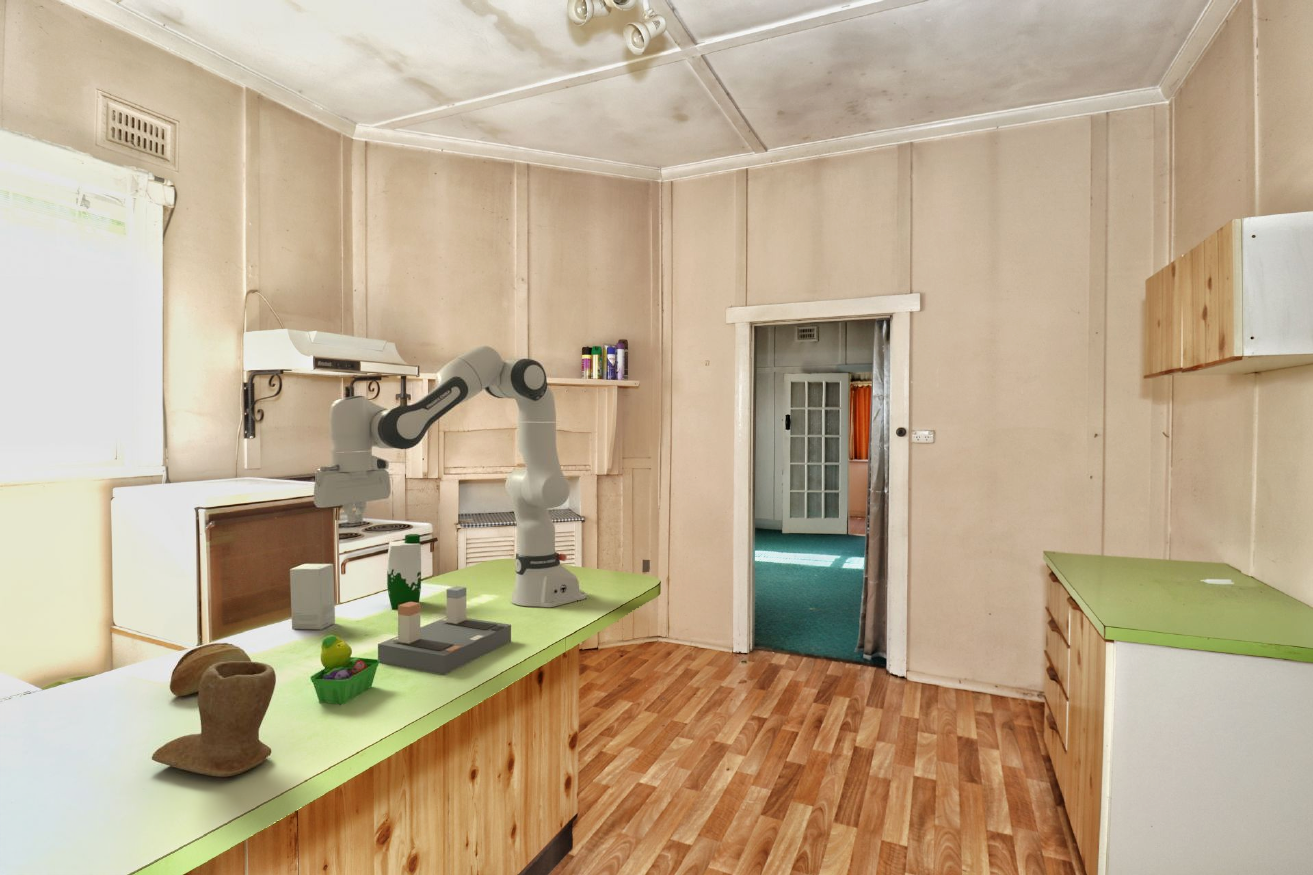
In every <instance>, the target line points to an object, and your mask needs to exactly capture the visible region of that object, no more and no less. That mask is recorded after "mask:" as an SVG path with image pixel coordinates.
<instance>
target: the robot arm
mask: <svg viewBox="0 0 1313 875" xmlns="http://www.w3.org/2000/svg"><path fill="white" fill-rule="evenodd" d="M547 378H548V377H547V374H546V371H545V368H544V366H543V365H542V364H541V363H540V362H539V361H537V360H535V359H531V358H513V359H512V358H511V359H507V360H503V359H502V357H501V355H500V354H499V352H498V351H497V350H496V349H494V348H493V347H491V346H487V345H481V346H478V347H475V348H473V349H470V350H468V351H466V352H464V353H462V354H461V355H458V356H457V357H455V358H454V359H452V360H451V361H449V362H448V363H446V364H445V365H444V366H443V367H442V368H441V369H440V370H439V371H437V373H436V374H435V380H434V381H435V388H434V389H432V390H431V391H430V392H428V394H426V395H424V396H423V397H421V398H420V399H418V400H417V401H416V402H415V403H412V404H410V405H402V406H401V405H400V406H396V407H393V408H389V409H388V408H387V407H384V406H380V405H379V404H376V403H374V402H372V401H371V400H369V399H368V398H366V396H364V395H354V396H348V397H343V398H339V399H337V400H335V401H333V402H332V404H331V406H330V410H329V435H330V438H331V442H332V443H331V444H332V446H331V450H330V454H331V455H330V456H331V459H330V460H331V465H329V466H320V467H319V468H318V469H317V470H316V472H315V474H314V477H315V478H314V486H313V504H314V505H315V506H316V508H329V507H330V508H331V507H337V506H338V507H339V506H342V510H343V511H344V512H343V513H345V515H346V516H347V523H348V524H355V523H360V522H363V519H364V516H363V514H364V513H365V511H366V507H367V502H373V501H379V500H387V499H389V498H390V496H391V494H392V492H391V490H392V488H391V478H390V472H388V469H389V465H390V463H389V461H388V460H386V459H384V458H381V457H377V456H375V455H373V453H372V448H373V447H375V448H379V449H399V450H408V449H412V448H413V447H415V446H417V445H418V444H419V443H420V442H421V441H422V439H424V437H425V435H426V433H427V432H428V430H429V429H430V427H431V426H432V425H433V424H435V422H437V421H438V420H439V419H440V418H441V417H443V416H444V415H446V414H447V413H448V412H449V411H451V410H452V409H453V408H455V407H456V406H458V405H460V404H462V403H465V402H467V401H468V400H470V399H472V398H473V397H475V396H477V395H478V394H479V393H481V392H482V391H484V390H485V392H486V393H487V394H489V395H490V396H491V397H494V398H498V399H511V400H512V399H514V400H515V402H516V404H517V406H518V415H517V416H518V418H517V419H518V420H517V425H518V426H517V448H518V451H519V453H520V454H521V455H522V458H523V462H524V465H525V467H524V468H520V469H519V468H518V469H516V470H514V471H512V472H511V473H510V474H509V475H508V476H507V478H506V480H505V486H504V487H505V491H506V492H505V493H506V495H507V496H508V497H509V499H510V501H511V504H512V509H513V513H514V517H515V522H516V524H515V525H516V530H517V531H516V532H517V533H516V536H517V538H516V539H517V540H516V542H517V543H516V546H517V549H516V553H515V565H514V566H515V573H516V574H515V580H514V581H515V582H514V583H515V584H514V588H513V592H512V596H511V600H510V601H511V603H513V604H514V605H517V606H522V607H540V608H555V607H558V606H561V605H565V604H569V603H574V602H578V601H581V600H585V598H586V599H587V598H588V595H587V593H586V592H585V591H583V590H582V589H580V583H579V579H578V577H577V576H576V575H575V574H574V573H573V572H571V571H570V570H569V569H567V567H565V566H563V565H562V564H561V561H562V562H566V560H567V559H568V556H567V554H565V553H562V552H561V553H558V552H556V526H555V524H554V522H553V520H552V519H551V516H550V513H549V509H554V508H558V507H561V506H563V505H564V504H565V503H566V502H567V501H568V499H569V497H570V494H571V487H570V486H571V485H570V482H569V480H568V479H567V478H566V477H565V474H564V473H563V470H562V468H561V463H560V460H559V456H558V450H557V411H556V403H555V397H554V393H553V391H552V389H551V388H550V387H548V382H547V380H548V379H547ZM354 508H356V509H355V512H354V510H353V509H354ZM577 600H578V601H577Z"/></svg>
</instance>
